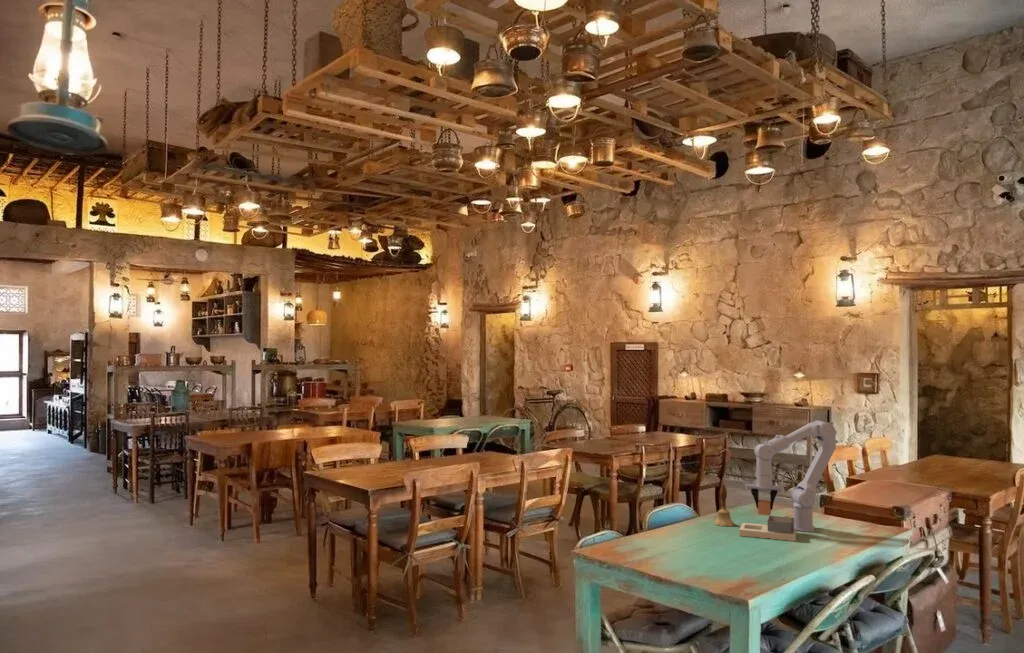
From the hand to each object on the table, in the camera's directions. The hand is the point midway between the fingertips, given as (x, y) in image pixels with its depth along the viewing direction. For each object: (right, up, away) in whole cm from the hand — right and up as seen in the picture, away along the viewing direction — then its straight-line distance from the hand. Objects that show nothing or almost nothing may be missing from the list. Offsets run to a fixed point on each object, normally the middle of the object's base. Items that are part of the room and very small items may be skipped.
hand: (764, 508), depth 290 cm
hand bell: (-14, -9, +8) cm, 18 cm away
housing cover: (+2, -5, -11) cm, 12 cm away
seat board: (-2, -8, -9) cm, 12 cm away
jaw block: (0, -2, 0) cm, 2 cm away
